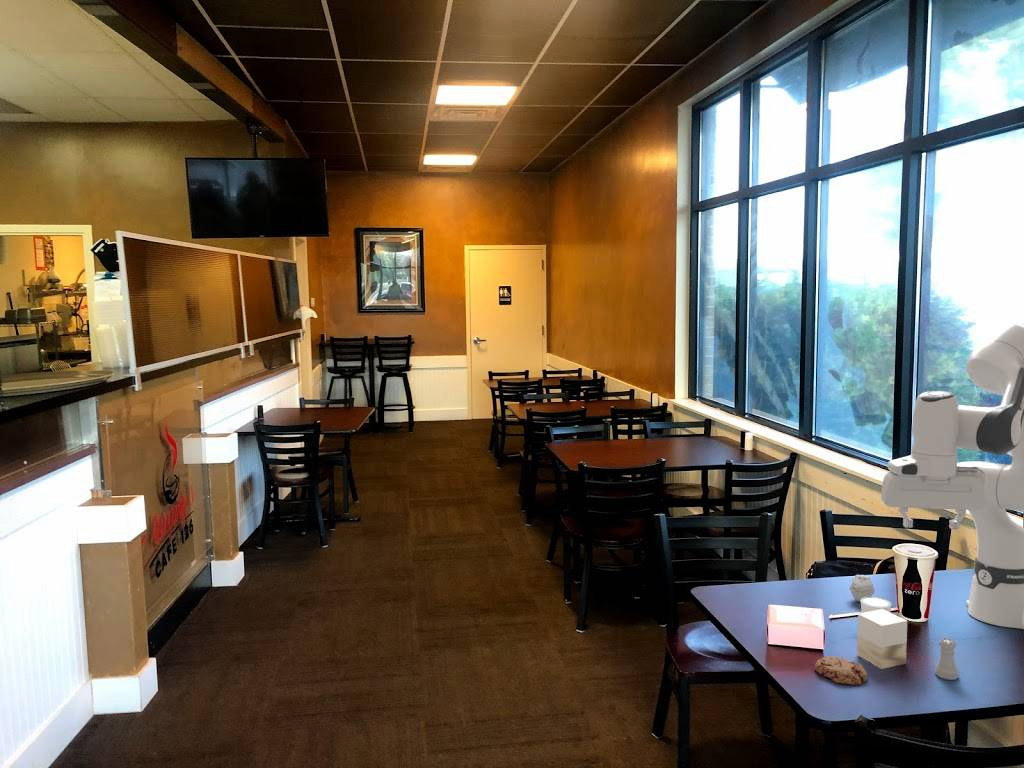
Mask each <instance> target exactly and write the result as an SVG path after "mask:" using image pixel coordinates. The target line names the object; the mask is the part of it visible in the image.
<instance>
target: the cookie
mask: <svg viewBox="0 0 1024 768" xmlns="http://www.w3.org/2000/svg"><path fill="white" fill-rule="evenodd" d="M815 670H816V671H815ZM814 671H815V672H816V673H818V674H819V675H821V676H823V678H824V677H825V678H828V679H831V681H832V682H835V683H837V684H846V685H852V686H853V685H862V683H865V682H866V681H867V679H868V673H867V671H866V670H865V668H864V667H863V665H862V664H860V663H857V662H855V661H850V660H849V659H847V658H843V657H839V656H823V657H821V658H819V659H818V660H817V661H816V662H815V665H814ZM861 682H862V683H861Z"/></svg>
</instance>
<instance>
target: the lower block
mask: <svg viewBox="0 0 1024 768" xmlns="http://www.w3.org/2000/svg"><path fill="white" fill-rule="evenodd" d="M856 639H857V647H856V649H857V650H856V656H857V655H859V656H860V657H862V658H864V659H865V660H864V659H863V660H864V661H866V660H867V661H866V662H868V661H869V662H871V663H872V664H871V663H870V664H871V665H873V664H874V665H873V666H874V667H876V666H877V667H876V668H878V669H880V670H883V669H887V668H892V667H895V666H896V665H897V666H902V665H906V664H907V642H908V641H907V642H906V643H902V644H897V645H892V646H888V647H883V648H881V647H879V646H877V645H876V644H874V643H872V642H870V641H868V640H866V639H864V638H862V637H860V636H858V635H857V637H856ZM859 656H858V657H859ZM860 657H859V658H860ZM862 658H861V659H862ZM869 662H868V663H869ZM897 666H896V667H897Z"/></svg>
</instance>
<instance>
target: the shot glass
mask: <svg viewBox="0 0 1024 768" xmlns="http://www.w3.org/2000/svg"><path fill="white" fill-rule="evenodd" d="M860 607H861V608H860V610H861V613H865V612H870V611H875V610H880V609H883V610H885V611H887V612H890V613H891V610H892V602H891V601H890V600H887V599H884V598H881V597H876V596H872V597H865V598H862V599H861V602H860Z"/></svg>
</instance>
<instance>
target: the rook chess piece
mask: <svg viewBox="0 0 1024 768" xmlns="http://www.w3.org/2000/svg"><path fill="white" fill-rule="evenodd" d="M938 644H939V645H940V649H939V651H940V656H939V660H938V662H937V664H936V665H935V666H934V667H935V670H934V673H935V674H936V676H938V677H939V678H941V679H943V680H948V681H955V680H957V679H958V678H959V677H960V675H959V674H958V673H959V669H958V667H957V665H956V663H955V653H956V651H955V648H956V647H957V644H956V643H955V639H952V638H950V637H948V639H947V637H940V641H939V642H938Z"/></svg>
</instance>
